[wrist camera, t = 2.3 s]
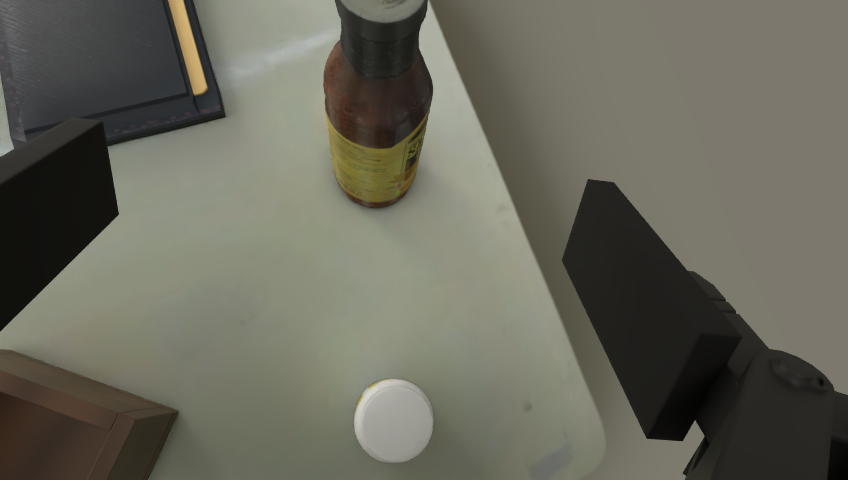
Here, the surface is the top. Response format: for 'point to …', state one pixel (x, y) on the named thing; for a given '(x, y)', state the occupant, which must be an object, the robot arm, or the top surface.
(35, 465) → the open wooden crate
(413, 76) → the sauce bottle
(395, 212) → the top surface
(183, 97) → the wallet
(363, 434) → the supplement bottle
